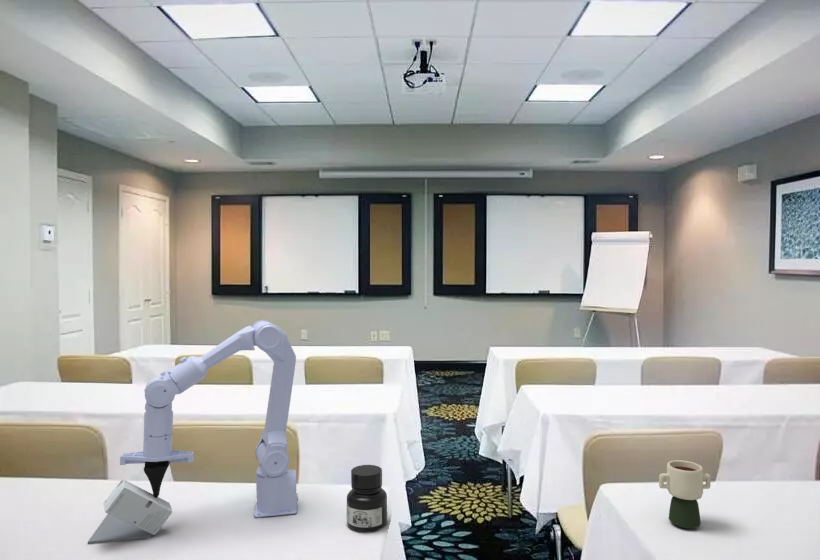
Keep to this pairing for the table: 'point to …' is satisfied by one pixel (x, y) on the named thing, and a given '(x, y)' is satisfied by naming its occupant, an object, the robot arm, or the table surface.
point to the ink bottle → (366, 499)
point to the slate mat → (116, 531)
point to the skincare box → (137, 507)
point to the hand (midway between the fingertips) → (156, 496)
